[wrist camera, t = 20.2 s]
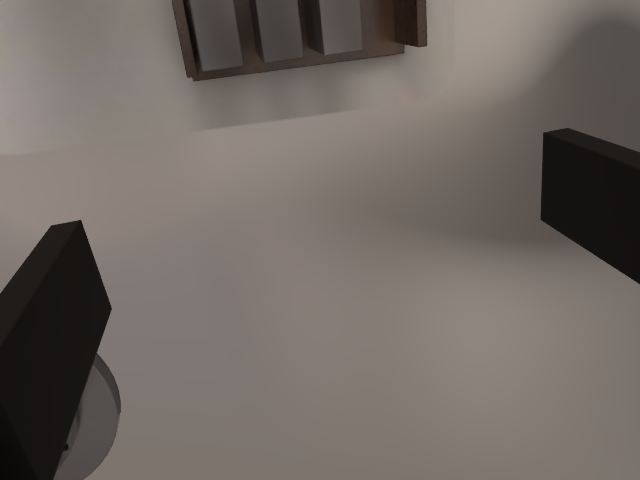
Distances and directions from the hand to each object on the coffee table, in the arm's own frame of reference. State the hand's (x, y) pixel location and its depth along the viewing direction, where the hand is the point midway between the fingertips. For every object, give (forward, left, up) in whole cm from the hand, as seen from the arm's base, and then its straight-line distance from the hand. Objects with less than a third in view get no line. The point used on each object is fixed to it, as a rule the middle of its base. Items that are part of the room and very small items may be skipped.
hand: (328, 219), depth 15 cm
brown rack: (+6, +4, -37) cm, 37 cm away
